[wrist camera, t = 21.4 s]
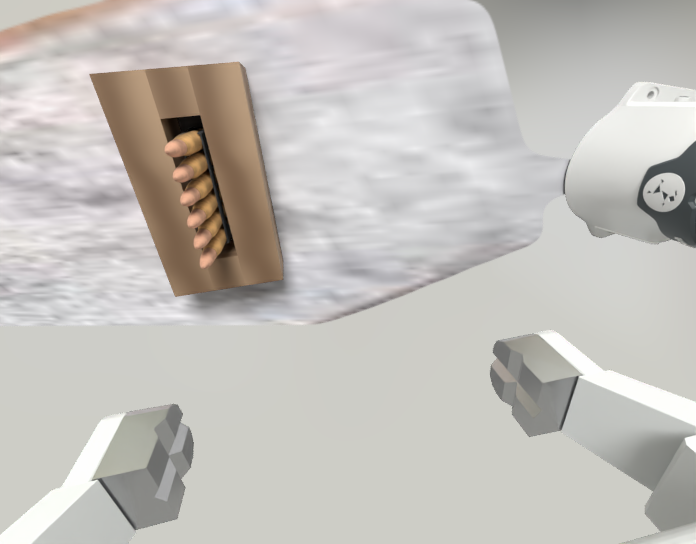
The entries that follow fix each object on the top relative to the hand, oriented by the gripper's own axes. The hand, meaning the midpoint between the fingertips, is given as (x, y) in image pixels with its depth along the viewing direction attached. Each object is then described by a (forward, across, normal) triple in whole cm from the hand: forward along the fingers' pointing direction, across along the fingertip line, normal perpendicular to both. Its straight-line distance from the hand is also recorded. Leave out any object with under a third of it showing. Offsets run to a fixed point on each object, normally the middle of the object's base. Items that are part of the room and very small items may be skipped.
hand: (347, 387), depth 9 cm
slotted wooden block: (+31, -9, 0) cm, 32 cm away
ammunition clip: (+31, -9, 0) cm, 33 cm away
